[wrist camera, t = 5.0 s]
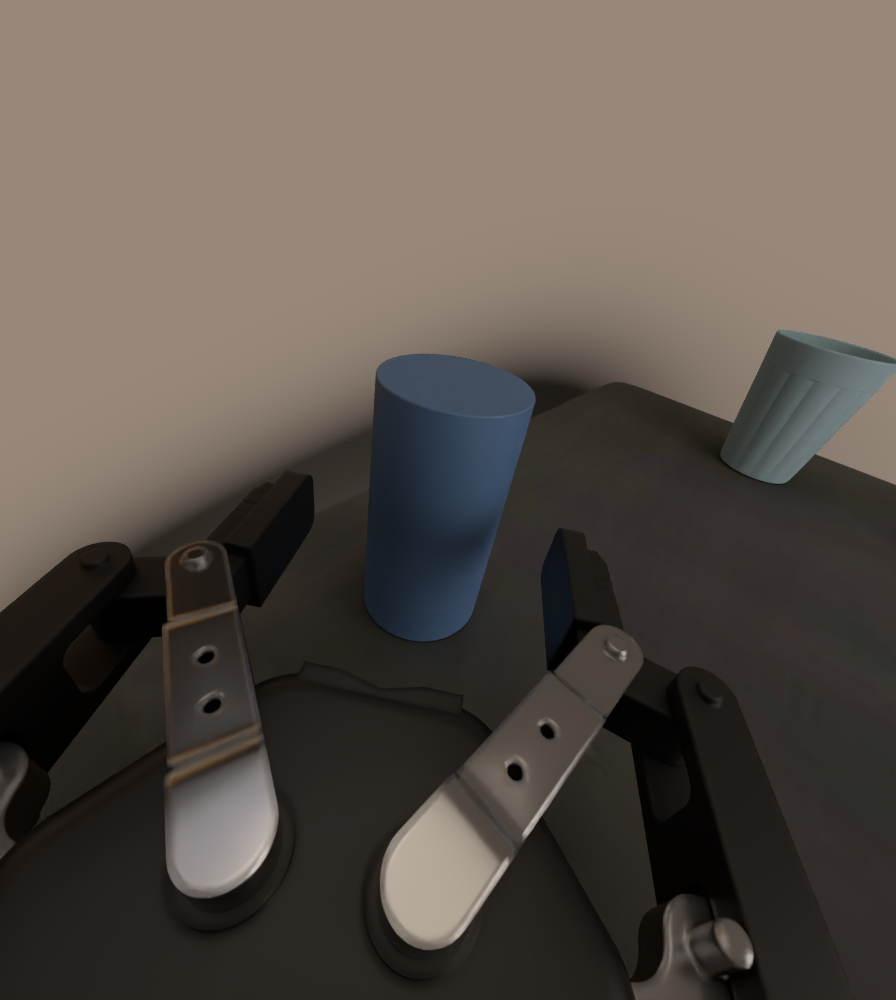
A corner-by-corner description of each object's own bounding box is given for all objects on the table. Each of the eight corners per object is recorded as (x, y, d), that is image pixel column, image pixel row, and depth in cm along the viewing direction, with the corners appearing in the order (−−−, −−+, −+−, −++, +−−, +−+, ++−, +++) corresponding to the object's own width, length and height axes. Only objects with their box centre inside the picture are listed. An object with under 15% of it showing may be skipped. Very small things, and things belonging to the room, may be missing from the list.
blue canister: (380, 656, 16) (405, 419, 10) (352, 564, 19) (359, 351, 14) (493, 626, 18) (568, 414, 12) (449, 548, 21) (490, 355, 16)
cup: (823, 501, 33) (933, 372, 27) (725, 480, 33) (812, 347, 27) (777, 456, 39) (857, 343, 33) (695, 438, 39) (760, 323, 33)
